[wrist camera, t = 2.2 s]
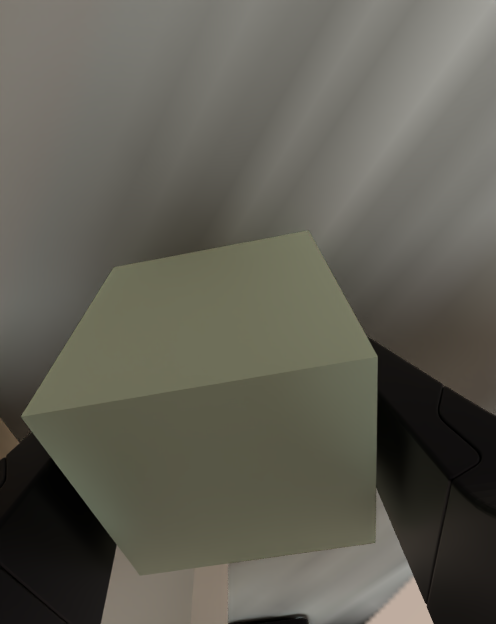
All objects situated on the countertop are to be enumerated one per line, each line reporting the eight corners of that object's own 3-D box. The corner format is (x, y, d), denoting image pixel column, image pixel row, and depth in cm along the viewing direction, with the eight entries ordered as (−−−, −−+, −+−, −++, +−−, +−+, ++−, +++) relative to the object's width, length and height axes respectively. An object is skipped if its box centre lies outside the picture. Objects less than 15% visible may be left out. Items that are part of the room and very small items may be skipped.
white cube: (227, 538, 17) (227, 692, 13) (123, 553, 17) (88, 708, 13) (201, 474, 14) (189, 641, 10) (77, 493, 14) (15, 663, 10)
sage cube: (322, 377, 12) (375, 542, 7) (171, 402, 12) (139, 575, 8) (307, 229, 9) (377, 356, 5) (114, 266, 9) (20, 416, 5)
